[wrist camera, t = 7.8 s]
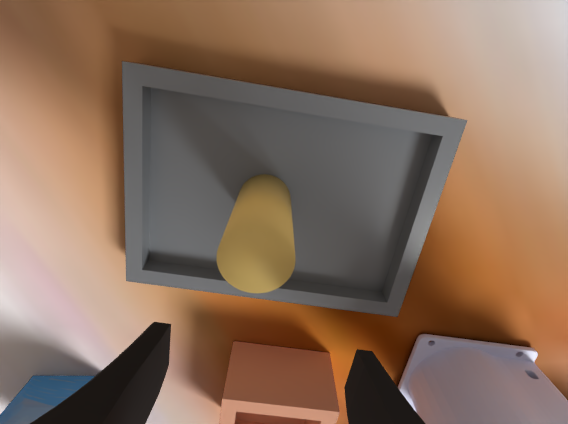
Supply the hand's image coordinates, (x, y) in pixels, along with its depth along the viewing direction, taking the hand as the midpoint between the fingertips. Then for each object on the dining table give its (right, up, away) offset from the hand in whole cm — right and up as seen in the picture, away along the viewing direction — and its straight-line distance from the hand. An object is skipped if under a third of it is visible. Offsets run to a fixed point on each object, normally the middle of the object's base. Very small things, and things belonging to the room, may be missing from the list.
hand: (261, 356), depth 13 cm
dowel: (0, +6, +8) cm, 10 cm away
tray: (+1, +7, +9) cm, 11 cm away
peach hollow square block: (0, -8, +14) cm, 17 cm away
